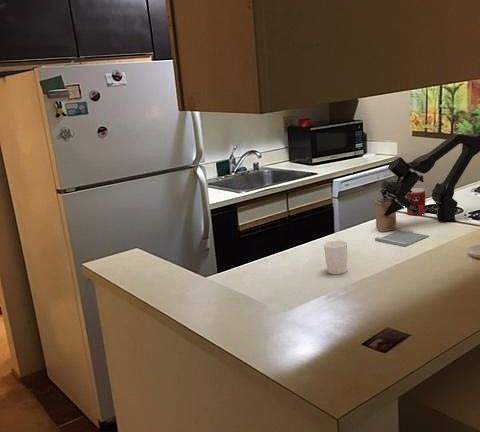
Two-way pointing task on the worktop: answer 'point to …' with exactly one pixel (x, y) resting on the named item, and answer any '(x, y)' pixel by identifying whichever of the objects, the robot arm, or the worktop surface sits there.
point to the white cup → (336, 256)
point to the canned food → (416, 202)
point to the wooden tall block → (381, 220)
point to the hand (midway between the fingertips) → (382, 214)
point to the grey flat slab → (401, 238)
